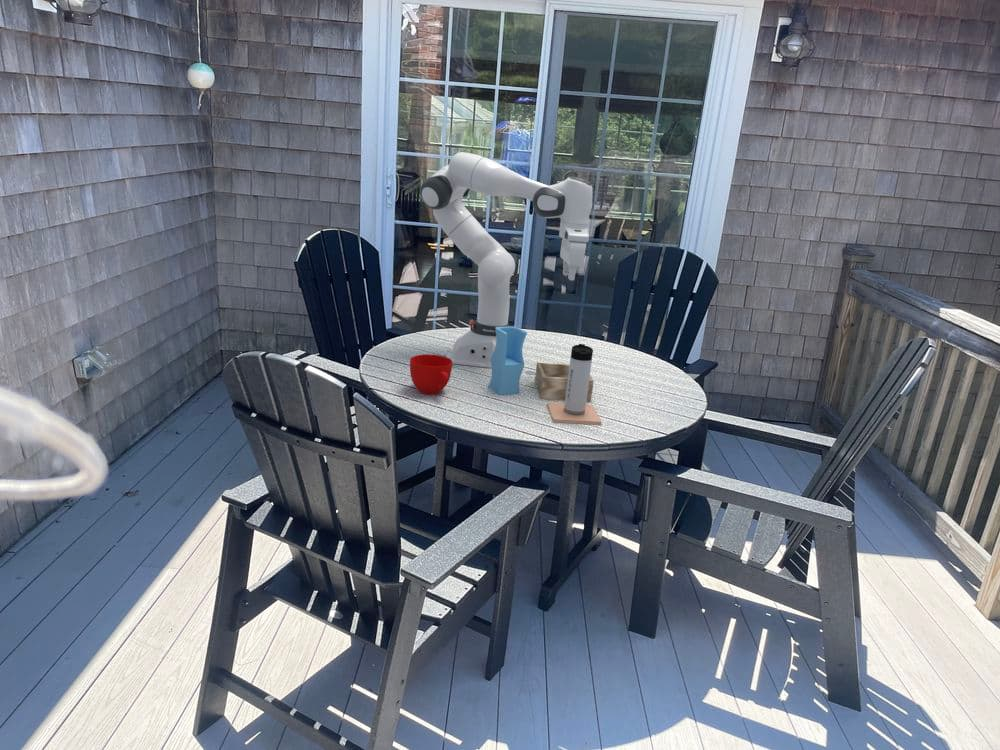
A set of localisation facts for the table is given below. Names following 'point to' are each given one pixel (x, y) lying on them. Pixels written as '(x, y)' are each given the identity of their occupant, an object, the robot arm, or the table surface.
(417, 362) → the ceramic cup
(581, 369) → the travel mug
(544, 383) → the frame
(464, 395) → the table surface
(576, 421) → the terracotta tile
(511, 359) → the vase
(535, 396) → the table surface
